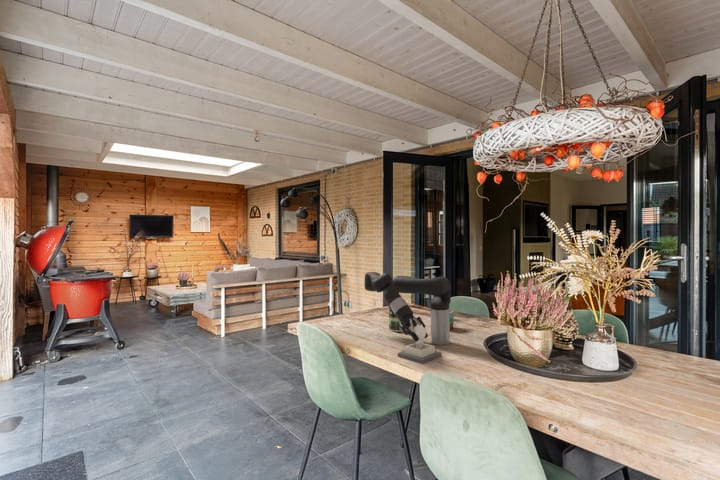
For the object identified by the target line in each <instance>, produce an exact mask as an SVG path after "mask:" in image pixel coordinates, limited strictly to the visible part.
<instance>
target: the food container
mask: <svg viewBox="0 0 720 480" xmlns="http://www.w3.org/2000/svg"><path fill="white" fill-rule="evenodd" d="M455 316H456V312H455V311H454V310H453V309H449V323H450V331H451V330H454V321H455V319H454V318H455Z"/></svg>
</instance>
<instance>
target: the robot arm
mask: <svg viewBox="0 0 720 480" xmlns="http://www.w3.org/2000/svg"><path fill="white" fill-rule="evenodd" d="M364 289H365V290H366V291H368V292H376V293H382V292H385V294H384V299H385V301H386V302H387V303H388V305H390V307H391V309H392V311H393V312H394V314H395V315H396V316H397V318H398V319H399V321H400V324H399V326H400V328H401V329H402V330H403V331H402V332H403V333H404V334H405V335H406V336H408V335H409V336H410V337H411V338H412V339H413V341H414V343H416V342H417V341H418V340H419V338H418V336H417V335H416V334H415V332H414V331H413V328H414V327H415V326H417V325H421V326H423V327H424V328H425V329H426V324H425V323H424V321H423V320H422V318H421V316H417V317H415V316H414V311H413V310H412V309H411V307H410V306H409V304H408V303H407V302H406V301H405V299H404V298H403V297H402V296H401V294H425V295H430V296H433V300H432V301H431V302H430V338H431V339H430V342H431V344H434V345H438V346H439V345H441V346H446V345H449V344H450V343H451V338H450V337H451V332H450V331H451V330H450V323H449V311H450V304H451V302H452V301H451V298H452V297H451V296H452V285H451V282H450V280H449V279H448V278H447V277H445V276H438V277H437V276H436V277H433V278H417V277H413V276H409V275H397V276H394V277H392V275H391V274H389V273H387V272H384V273H382V274H381V273H379V272H376V271H368V272H366V273H365V275H364ZM405 329H406V330H405ZM428 337H429V335H428V333H427V332H426V336H425V338H424V339H427V338H428Z"/></svg>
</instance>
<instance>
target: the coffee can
mask: <svg viewBox="0 0 720 480" xmlns="http://www.w3.org/2000/svg"><path fill="white" fill-rule="evenodd" d="M399 324H400V321H399V319H398V318H397V316H396V315H395V314H394V312H393V311H392V309H391V307H390V305H389V304H388V330H389V332H390V331H391V332H397V333H399V332H403V330H402V329H401V328H400V326H399ZM405 330H406V329H405ZM406 331H407V330H406Z"/></svg>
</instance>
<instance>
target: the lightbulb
mask: <svg viewBox="0 0 720 480" xmlns="http://www.w3.org/2000/svg"><path fill="white" fill-rule="evenodd" d="M413 331H414V332H415V334H416V335H417V336H418V338H419V340H418V341H417V342H415V343H416V349H420V350H421V349H422V343H424V339H426V338H425V336H426V333H427V330H426V327H425V328H424V327H423V326H422V324H421V325H418V324H417V326H415V327H414V328H413Z"/></svg>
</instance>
